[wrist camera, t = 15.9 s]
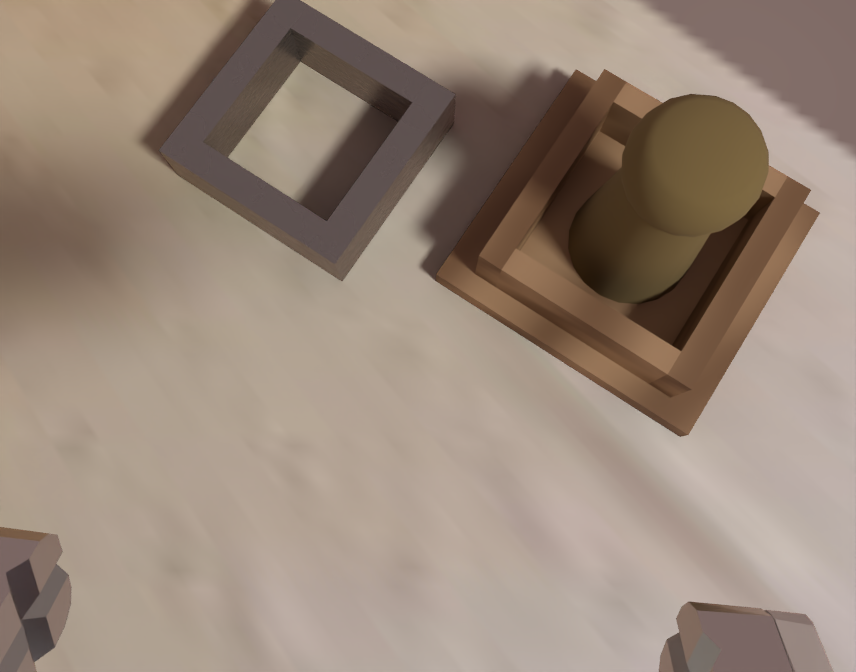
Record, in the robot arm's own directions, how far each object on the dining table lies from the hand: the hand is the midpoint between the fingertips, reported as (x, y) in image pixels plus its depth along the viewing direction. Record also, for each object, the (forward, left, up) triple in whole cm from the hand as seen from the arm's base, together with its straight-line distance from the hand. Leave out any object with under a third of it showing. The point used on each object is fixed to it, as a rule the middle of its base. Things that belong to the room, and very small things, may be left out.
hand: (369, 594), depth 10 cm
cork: (+2, +17, -26) cm, 31 cm away
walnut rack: (+2, +17, -27) cm, 32 cm away
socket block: (-14, +13, -27) cm, 33 cm away
